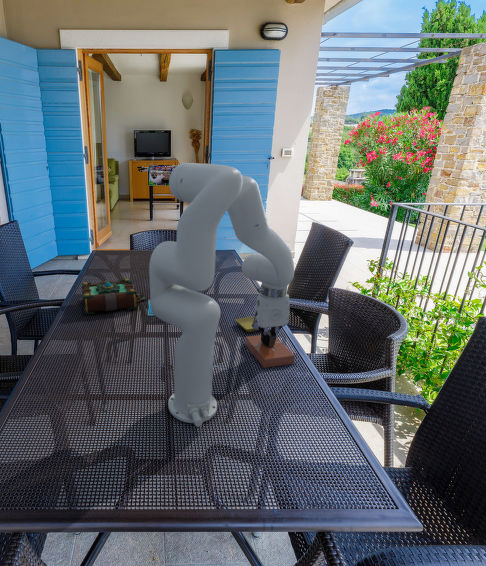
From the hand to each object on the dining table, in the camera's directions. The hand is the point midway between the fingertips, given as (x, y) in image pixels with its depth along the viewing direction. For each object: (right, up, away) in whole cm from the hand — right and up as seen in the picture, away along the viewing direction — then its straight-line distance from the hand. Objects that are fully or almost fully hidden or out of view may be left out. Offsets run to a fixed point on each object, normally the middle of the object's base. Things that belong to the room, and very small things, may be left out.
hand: (267, 342), depth 121 cm
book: (-54, +11, +37) cm, 67 cm away
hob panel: (0, -4, 0) cm, 4 cm away
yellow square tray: (-2, +3, +17) cm, 17 cm away
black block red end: (0, 0, 0) cm, 0 cm away
